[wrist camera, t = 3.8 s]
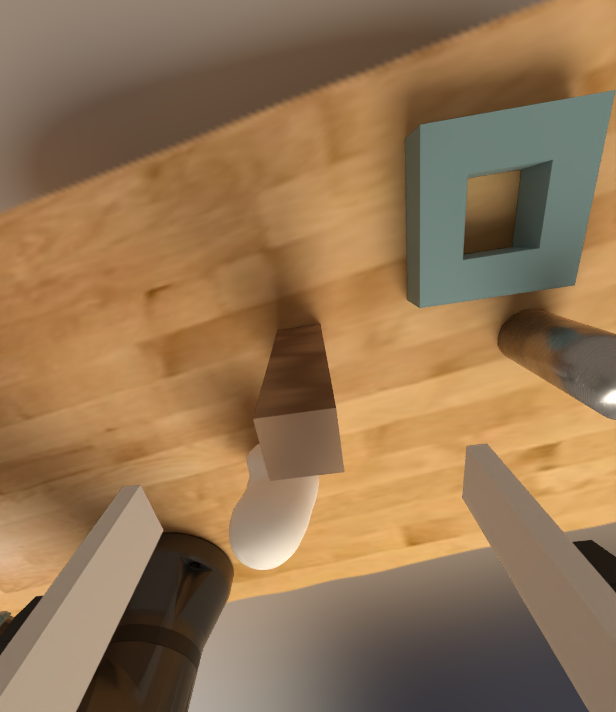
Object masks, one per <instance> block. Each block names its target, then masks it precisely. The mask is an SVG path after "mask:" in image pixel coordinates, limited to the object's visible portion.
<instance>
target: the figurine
mask: <svg viewBox="0 0 616 712" xmlns="http://www.w3.org/2000/svg"><path fill="white" fill-rule="evenodd" d="M247 465H248V469H249V481H248V484H247V488H246V490H245V492H244V494H243V495H242V497H241V499H240V500H239V501H238V503H237V504H236V506H235V508H234V510H233V512H232V516H231V520H230V525H229V540H230V544H231V548H232V550H233V552H234V554H235V556H236V557H237V558H238V559H239V561H240V562H242V563H243V564H244V565H246V566H248V567H250V568H253V569H257V570H267V569H272V568H275V567H277V566H279V565H281V564H282V563H284V562H285V561H286V560H287V559H289V558H290V557H291V556H292V555H293V553H294V552H295V551H296V549H297V548H298V546H299V544H300V542H301V540H302V538H303V536H304V534H305V532H306V529H307V527H308V524H309V520H310V517H311V513H312V510H313V507H314V504H315V501H316V497H317V493H318V486H319V475H316V476H308V477H300V478H292V479H284V480H275V481H269V477H268V474H267V470H266V466H265V462H264V459H263V455H262V451H261V448H260V444H257V445H256V446H255V447H254V448H253V449H252V450H251V451H250V453H249V454H248V457H247Z"/></svg>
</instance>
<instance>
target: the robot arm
mask: <svg viewBox="0 0 616 712" xmlns="http://www.w3.org/2000/svg"><path fill="white" fill-rule="evenodd" d="M462 498H463V499H464V501H465V503H466V505H467V506H468V508H469V510H470V511H471V513H472V515H473V516H474V518H475V520H476V521H477V523H478V525H479V526H480V528H481V530H482V532H483V533H484V535H485V537H486V538H487V540H488V542H489V543H490V545H491V547H492V548H493V550H494V552H495V553H496V555H497V557H498V559H499V560H500V562H501V564H502V565H503V567H504V569H505V570H506V572H507V574H508V575H509V577H510V579H511V580H512V582H513V584H514V585H515V587H516V589H517V591H518V592H519V594H520V596H521V597H522V599H523V601H524V602H525V604H526V606H527V607H528V609H529V611H530V612H531V614H532V616H533V617H534V619H535V621H536V623H537V624H538V626H539V628H540V629H541V631H542V633H543V634H544V636H545V638H546V639H547V641H548V643H549V644H550V646H551V648H552V650H553V651H554V653H555V655H556V656H557V658H558V660H559V661H560V663H561V665H562V666H563V668H564V670H565V671H566V673H567V675H568V677H569V678H570V680H571V682H572V683H573V685H574V687H575V688H576V690H577V692H578V693H579V695H580V697H581V698H582V700H583V702H584V704H585V705H586V707H587V709H588V710H589V712H616V557H615V556H614V555H612V554H611V553H609V552H608V551H606V550H605V549H604V548H602V547H600V546H599V545H598V544H597V543H595V542H594V541H592V540H587V541H577V542H571V540H570V539H569V538H568V537H567V536H566V535H565V533H564V532H563V531H562V530H561V529H560V528H559V526H558V525H557V524H556V523H555V522H554V521H553V520H552V518H551V517H550V516H549V515H548V514H547V513H546V511H545V510H544V509H543V508H542V507H541V506H540V504H539V503H538V502H537V501H536V500H535V499H534V498H533V496H532V495H531V494H530V493H529V492H528V491H527V489H526V488H525V487H524V486H523V485H522V484H521V482H520V481H519V480H518V479H517V478H516V477H515V475H514V474H513V473H512V472H511V471H510V470H509V469H508V467H507V466H506V465H505V464H504V463H503V462H502V460H501V459H500V458H499V457H498V456H497V455H496V453H495V452H494V451H493V450H492V449H491V448H490V447H489V445H488V444H479V445H470V446H467V447H466V459H465V471H464V482H463V494H462ZM162 532H163V528H162V526H161V524H160V522H159V520H158V518H157V516H156V514H155V512H154V510H153V508H152V507H151V505H150V503H149V501H148V499H147V497H146V495H145V493H144V491H143V489H142V487H141V485H135V486H126V487H122V488H121V490H120V491H119V493H118V494H117V495H116V497H115V498H114V499H113V501H112V502H111V504H110V505H109V506H108V508H107V509H106V510H105V512H104V513H103V515H102V516H101V517H100V519H99V520H98V521H97V523H96V524H95V526H94V527H93V528H92V530H91V531H90V533H89V534H88V535H87V537H86V538H85V539H84V541H83V542H82V544H81V545H80V546H79V548H78V549H77V550H76V552H75V553H74V555H73V556H72V557H71V559H70V560H69V561H68V563H67V564H66V566H65V567H64V568H63V570H62V571H61V572H60V574H59V575H58V577H57V578H56V579H55V581H54V582H53V583H52V585H51V586H50V588H49V589H48V590H47V592H46V593H45V594H44V596H36V597H35V598H34V599H33V600H32V601H31V602H30V603H29V604H28V605H27V606H26V607H25V608H24V609H23V610H22V611H21V612H20V613H18V614H17V615H16V616H15V617H12V616H10V615H11V613H9V612H7V611H1V612H0V712H188V708H189V704H190V700H191V696H192V692H193V688H194V683H195V679H196V675H197V670H198V666H199V663H200V659H201V655H202V651H203V648H204V646H205V644H206V642H207V640H208V638H209V636H210V634H211V632H212V630H213V628H214V626H215V624H216V622H217V620H218V618H219V616H220V614H221V612H222V610H223V608H224V606H225V604H226V602H227V600H228V598H229V595H230V591H231V586H232V581H233V576H234V570H233V566H232V564H231V562H230V560H229V558H228V557H227V556H226V555H225V554H224V553H223V552H222V551H221V550H220V549H219V548H217V547H216V546H214V545H213V544H211V543H209V542H207V541H205V540H202V539H200V538H197V537H193V536H189V535H184V534H174V533H164V534H162Z"/></svg>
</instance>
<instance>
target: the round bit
mask: <svg viewBox="0 0 616 712" xmlns="http://www.w3.org/2000/svg"><path fill="white" fill-rule="evenodd" d="M498 346H499V349H500V351H501V352H502V353H503V354H504V355H505V356H506V357H508V358H510V359H511V360H513V361H515V362H516V363H518V364H519V365H521V366H523V367H524V368H526V369H528V370H529V371H531V372H533V373H534V374H536V375H538V376H539V377H541V378H542V379H544V380H546V381H547V382H549V383H551V384H552V385H554V386H556V387H557V388H559V389H561V390H562V391H564V392H565V393H567V394H569V395H570V396H572V397H574V398H575V399H577V400H579V401H580V402H582V403H584V404H585V405H587V406H588V407H590V408H592V409H593V410H595V411H597V412H598V413H600V414H602V415H603V416H605V417H607V418H610V419H614V420H616V334H613V333H610V332H607V331H604V330H601V329H598V328H595V327H592V326H589V325H585V324H582V323H579V322H576V321H573V320H570V319H567V318H564V317H560V316H557V315H554V314H551V313H548V312H545V311H542V310H538V309H528V310H524V311H521V312H519V313H517V314H515V315H513V316H512V317H511V318H510V319H508V320H507V322H506V323H505V324H504V325H503V327H502V328H501V330H500V333H499V336H498Z"/></svg>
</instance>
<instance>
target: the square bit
mask: <svg viewBox="0 0 616 712" xmlns="http://www.w3.org/2000/svg"><path fill="white" fill-rule="evenodd" d="M253 421H254V425H255V429H256V433H257V436H258V440H259V444H260V448H261V451H262V455H263V459H264V462H265V466H266V470H267V474H268V477H269V481H275V480H284V479H292V478H300V477H308V476H316V475H324V474H332V473H340V472H344V465H343V458H342V450H341V442H340V435H339V427H338V419H337V412H336V405H335V400H334V394H333V389H332V384H331V378H330V373H329V368H328V362H327V357H326V352H325V346H324V341H323V336H322V330H321V325H320V324H316V325H309V326H303V327H296V328H289V329H282V330H278V331H277V334H276V338H275V341H274V345H273V349H272V352H271V356H270V359H269V363H268V366H267V370H266V374H265V377H264V381H263V384H262V388H261V392H260V395H259V399H258V402H257V406H256V409H255V413H254V417H253Z"/></svg>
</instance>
